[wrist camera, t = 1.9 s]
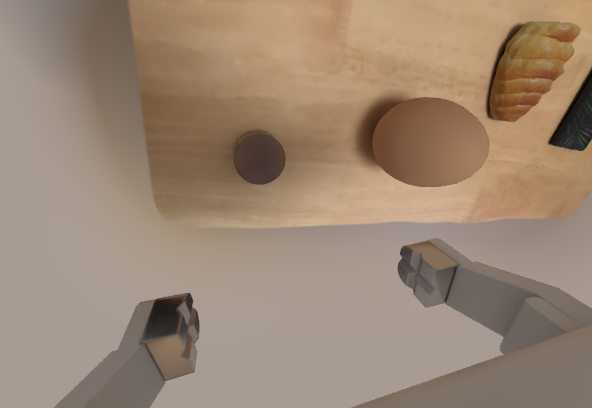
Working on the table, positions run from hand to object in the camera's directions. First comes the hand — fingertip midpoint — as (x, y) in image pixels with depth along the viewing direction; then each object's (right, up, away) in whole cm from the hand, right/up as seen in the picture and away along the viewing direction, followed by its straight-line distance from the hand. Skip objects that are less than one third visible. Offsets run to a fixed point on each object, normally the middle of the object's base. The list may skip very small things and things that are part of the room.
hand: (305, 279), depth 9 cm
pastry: (+24, +18, +18) cm, 35 cm away
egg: (+10, +11, +17) cm, 23 cm away
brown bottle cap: (-4, +8, +15) cm, 17 cm away
